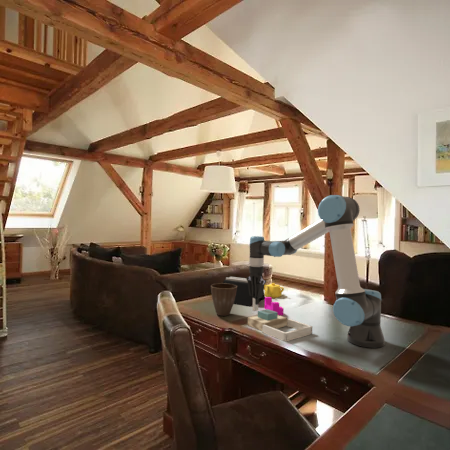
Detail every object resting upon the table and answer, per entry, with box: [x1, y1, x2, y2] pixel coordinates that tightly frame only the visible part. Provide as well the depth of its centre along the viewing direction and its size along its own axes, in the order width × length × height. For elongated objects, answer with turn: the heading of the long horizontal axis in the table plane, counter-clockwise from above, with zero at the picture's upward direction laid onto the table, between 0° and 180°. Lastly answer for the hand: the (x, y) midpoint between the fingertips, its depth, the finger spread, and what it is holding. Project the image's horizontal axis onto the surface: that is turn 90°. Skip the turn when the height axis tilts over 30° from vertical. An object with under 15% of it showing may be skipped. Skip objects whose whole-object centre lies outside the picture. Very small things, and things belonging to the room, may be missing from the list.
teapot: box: [264, 282, 285, 299], centre depth 225 cm, size 14×13×10 cm
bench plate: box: [247, 314, 288, 332], centre depth 164 cm, size 12×16×4 cm
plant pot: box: [210, 282, 237, 317], centre depth 184 cm, size 15×15×16 cm
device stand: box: [222, 276, 265, 308], centre depth 215 cm, size 22×22×15 cm
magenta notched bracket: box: [264, 297, 284, 316], centre depth 189 cm, size 15×6×8 cm, turn 11°
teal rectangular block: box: [257, 309, 278, 321], centre depth 164 cm, size 7×7×3 cm
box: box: [261, 318, 313, 343], centre depth 154 cm, size 15×18×4 cm
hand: (255, 310), depth 171 cm, fingers closed
